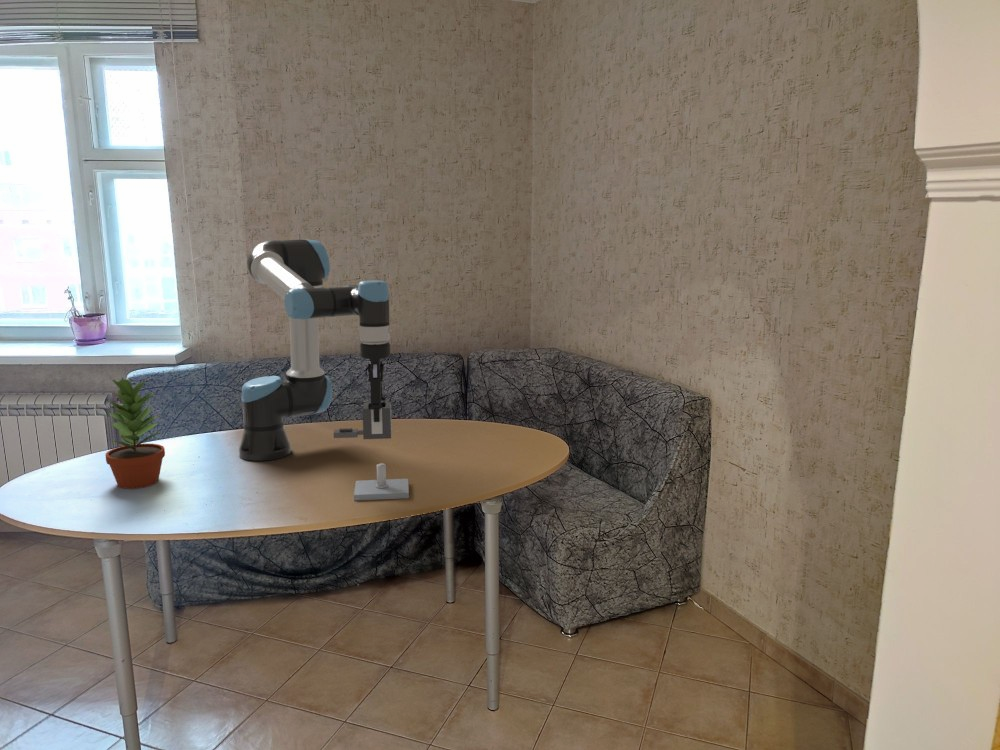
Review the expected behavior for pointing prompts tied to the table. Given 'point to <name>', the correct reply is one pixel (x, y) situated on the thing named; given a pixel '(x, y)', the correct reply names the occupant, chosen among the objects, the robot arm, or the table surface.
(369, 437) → the grey square socket
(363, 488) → the keeper
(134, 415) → the potted plant
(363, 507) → the table surface
